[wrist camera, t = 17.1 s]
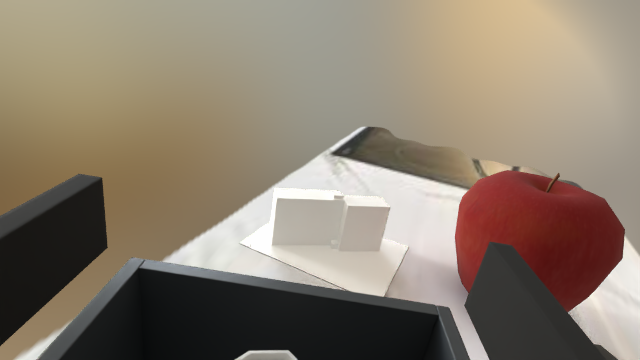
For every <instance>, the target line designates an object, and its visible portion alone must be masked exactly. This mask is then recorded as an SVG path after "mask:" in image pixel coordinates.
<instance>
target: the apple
mask: <svg viewBox="0 0 640 360" xmlns="http://www.w3.org/2000/svg"><path fill="white" fill-rule="evenodd" d="M559 177H560V175H559V173H558V174H557V175H556V176H555V178H554V179H551V178H547V177H544V176H539V175H534V174H529V173H524V172H518V171H509V170H506V171H503V172H499V173H496V174H494V175H491V176H488V177H485V178H482V179H480V180H478V181H477V182H476V183H475V184H474V185H473V186H472V187H471V188H470V189H469V191H468V192H467V193H466V194H465V195H464V196H463V197H462V200H461V202H460V204H459V211H458V218H457V226H456V233H455V243H456V254H457V264H458V273H459V276H460V279H461V282H462V284H463V286H464V287H465V288H466V290H467V291H468V293H470V290H471V287H472V285H473V282H474V280H475V277H476V275H477V272H478V270H479V267H480V265H481V262H482V259H483V257H484V254H485V252H486V249H487V247H488V244H489V242H496V243H502V244H508V245H512V246H513V247H514V248H515V249H516V251H517V252H518V253H519V254H520V256H521V257H522V258H523V259H524V260H525V262H526V263H527V264H528V265H529V266H530V268H531V269H532V270H533V271H534V272H535V274H536V275H537V276H538V277H539V279H540V280H541V281H542V282H543V283H544V285H545V286H546V287H547V288H548V289H549V291H550V292H551V293H552V294H553V296H554V297H555V298H556V299H557V300H558V302H559V303H560V304H561V305H562V306H563V308H564V309H565V310H566V311H567V312H569V311H570V310H571V309H573V308H574V307H576V306H577V305H578V304H580V303H581V302H582V301H584V300H585V299H587V298H588V297H589V296H590V295H591V294H592V293H593V292H594V291H595V290H596V289H597V288H598V286H599V285H600V284H601V283H602V282H603V281H604V279H605V278H606V277H607V276H608V275H609V274H610V272H611V271H612V270H613V269H614V268H615V267H616V265H617V264H618V263H619V262H620V261H621V260H622V258H623V246H624V234H625V229H624V227H623V226H622V224H621V223H620V221H619V219H618V218H617V216H616V215H615V214H614V212H613V211H612V209H611V208H610V206H609V205H608V203H607V202H606V200H605V199H604V198H601V197H599V196H597V195H595V194H593V193H591V192H588V191H586V190H583V189H581V188H578V187H575V186H573V185H570V184H567V183H564V182H561V181H558V180H557V179H558V178H559Z"/></svg>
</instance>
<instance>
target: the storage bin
mask: <svg viewBox="0 0 640 360" xmlns="http://www.w3.org/2000/svg"><path fill="white" fill-rule="evenodd" d="M266 350H289V351H290V352H291V353H292V354H293V355H294V356H295V357H296V358H297V359H298V360H470V358H469V356H468V353H467V351H466V348H465V346H464V343H463V341H462V338H461V336H460V333H459V331H458V328H457V326H456V324H455V321H454V319H453V316H452V314H451V311H450V309H449V308H448V307H444V306H435V305H433V304H427V303H420V302H414V301H408V300H401V299H395V298H389V297H382V296H376V295H369V294H363V293H357V292H350V291H344V290H338V289H331V288H325V287H319V286H312V285H306V284H299V283H293V282H287V281H280V280H274V279H268V278H261V277H255V276H249V275H242V274H236V273H230V272H223V271H217V270H210V269H204V268H198V267H191V266H185V265H179V264H172V263H166V262H160V261H153V260H145V259H139V258H131V259H130V260H129V261H128V262H127V263H126V264H125V265H124V266H123V267H122V268H121V269H120V270H119V271H118V272H117V274H116V275H115V276H114V277H113V278H112V279H111V280H110V281H109V282H108V283H107V284H106V285H105V286H104V287H103V289H102V290H101V291H100V292H99V293H98V294H97V295H96V296H95V297H94V298H93V299H92V300H91V301H90V303H89V304H88V305H87V306H86V307H85V308H84V309H83V310H82V311H81V312H80V313H79V314H78V315H77V316H76V317H75V319H74V320H73V321H72V322H71V323H70V324H69V325H68V326H67V327H66V328H65V329H64V330H63V331H62V332H61V334H60V335H59V336H58V337H57V338H56V339H55V340H54V341H53V342H52V343H51V344H50V345H49V346H48V347H47V349H46V350H45V351H44V352H43V353H42V354H41V355H40V356H39V357H38V358H37V359H36V360H235V359H237V358H238V357H240V356H242V355H243V354H245V353H247V352H248V351H266Z"/></svg>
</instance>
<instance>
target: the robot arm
mask: <svg viewBox="0 0 640 360" xmlns="http://www.w3.org/2000/svg"><path fill="white" fill-rule="evenodd" d="M107 248H108V247H107V235H106V222H105V209H104V196H103V183H102V178H101V177H95V176H89V175H82V174H78V175H76V176H74V177H72V178H70V179H69V180H67V181H65V182H63V183H61V184H59V185H57V186H55V187H54V188H52V189H50V190H48V191H46V192H44V193H43V194H40V195H39V196H37V197H35V198H33V199H31V200H29V201H27V202H25V203H23V204H22V205H20V206H18V207H16V208H14V209H12V210H11V211H9V212H7V213H5V214H3V215H1V216H0V346H1V345H2V344H3V343H4V342H5V341H6V340H7V339H8V338H9V337H11V336H12V335H13V334H14V333H15V332H16V331H17V330H18V329H19V328H20V327H22V326H23V325H24V324H25V323H26V322H27V321H28V320H29V319H30V318H31V317H32V316H34V315H35V314H36V313H37V312H38V311H39V310H40V309H41V308H42V307H43V306H44V305H46V304H47V303H48V302H49V301H50V300H51V299H52V298H53V297H54V296H55V295H56V294H58V293H59V292H60V291H61V290H62V289H63V288H64V287H65V286H66V285H67V284H68V283H69V282H70V281H72V280H73V279H74V278H75V277H76V276H77V275H78V274H79V273H80V272H81V271H83V270H84V269H85V268H86V267H87V266H88V265H89V264H90V263H91V262H92V261H93V260H94V259H96V258H97V257H98V256H99V255H100V254H101V253H102V252H103V251H104V250H105V249H107ZM464 306H465V308H466V310H467V312H468V314H469V316H470V318H471V321H472V323H473V325H474V327H475V329H476V331H477V334H478V336H479V338H480V340H481V342H482V344H483V346H484V349H485V351H486V353H487V355H488V357H489V359H490V360H618V359H617V358H615V357H614V356H613V355H612V354H610V353H609V352H608V351H607V350H606V349H604V348H603V347H602V346H601V345H595V344H593V343H592V342H591V340H590V339H589V338H588V337H587V336H586V334H585V333H584V332H583V331H582V329H581V328H580V327H579V326H578V325H577V323H576V322H575V321H574V320H573V319H572V317H571V316H570V315H569V314H568V313H567V311H566V310H565V309H564V308H563V306H562V305H561V304H560V303H559V302H558V300H557V299H556V298H555V297H554V296H553V294H552V293H551V292H550V291H549V289H548V288H547V287H546V286H545V285H544V283H543V282H542V281H541V280H540V279H539V277H538V276H537V275H536V274H535V272H534V271H533V270H532V269H531V268H530V266H529V265H528V264H527V263H526V262H525V260H524V259H523V258H522V257H521V256H520V254H519V253H518V252H517V251H516V249H515V248H514V247H513V246H512V245H508V244H502V243H496V242H489V244H488V247H487V249H486V252H485V254H484V257H483V259H482V262H481V265H480V267H479V270H478V272H477V275H476V277H475V280H474V282H473V285H472V287H471V290H470V293H469V295H468V298H467V300H466V303H465V305H464Z"/></svg>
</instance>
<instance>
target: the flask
mask: <svg viewBox="0 0 640 360" xmlns="http://www.w3.org/2000/svg"><path fill="white" fill-rule="evenodd" d="M235 360H298V359H297V358H296V357H295V356H294V355H293V354H292V353H291V352H290V351H289V350H266V351H248V352H247V353H245V354H243V355H242V356H240V357H238V358H237V359H235Z"/></svg>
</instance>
